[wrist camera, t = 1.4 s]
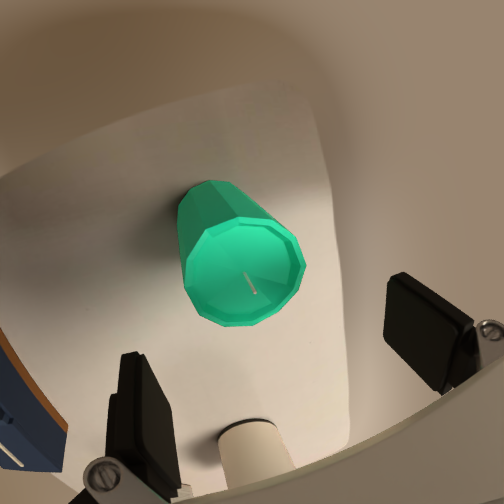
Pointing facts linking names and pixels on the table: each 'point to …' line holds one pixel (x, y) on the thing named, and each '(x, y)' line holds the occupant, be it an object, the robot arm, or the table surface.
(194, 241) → the candle
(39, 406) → the navy slotted box
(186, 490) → the cosmetic box
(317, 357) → the table surface
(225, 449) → the mug
